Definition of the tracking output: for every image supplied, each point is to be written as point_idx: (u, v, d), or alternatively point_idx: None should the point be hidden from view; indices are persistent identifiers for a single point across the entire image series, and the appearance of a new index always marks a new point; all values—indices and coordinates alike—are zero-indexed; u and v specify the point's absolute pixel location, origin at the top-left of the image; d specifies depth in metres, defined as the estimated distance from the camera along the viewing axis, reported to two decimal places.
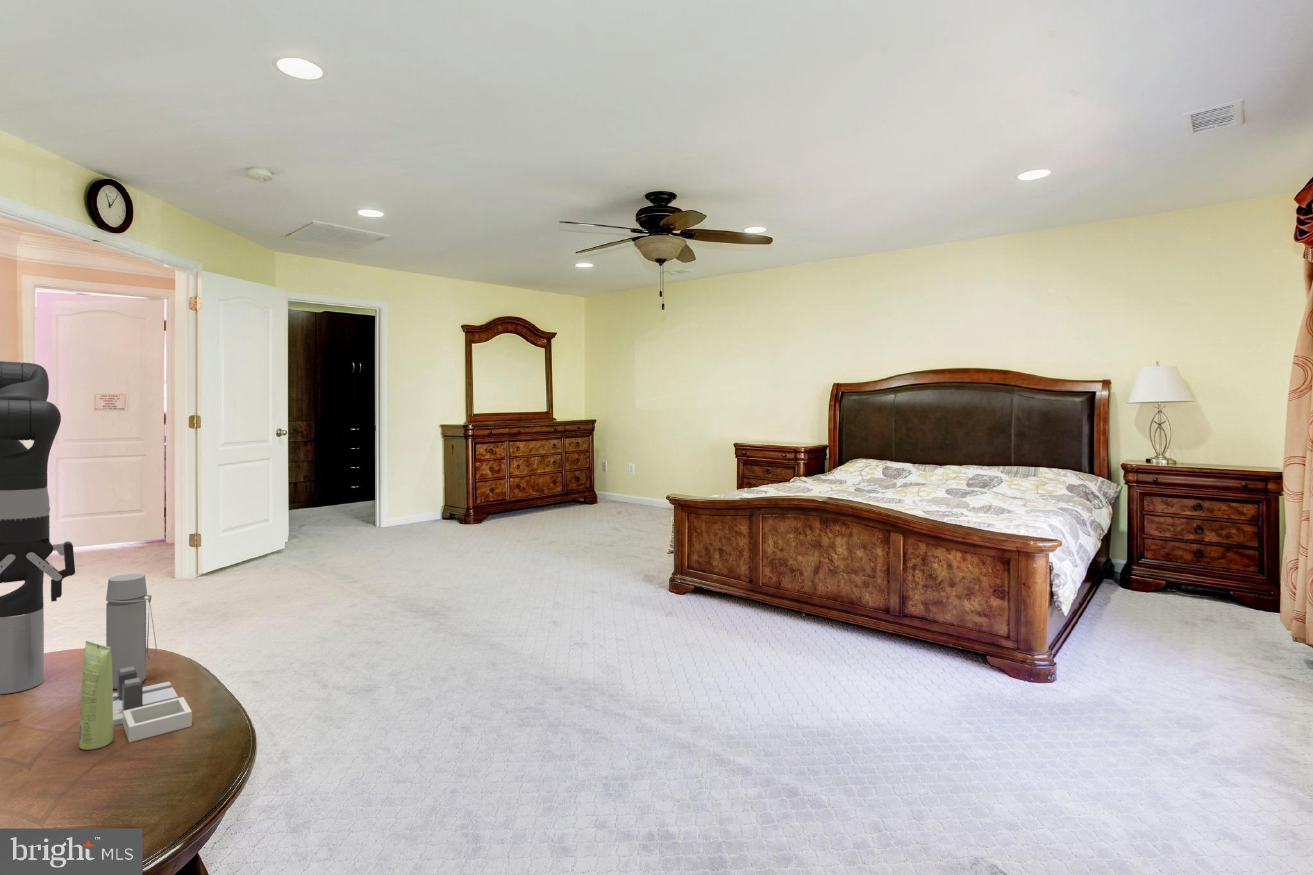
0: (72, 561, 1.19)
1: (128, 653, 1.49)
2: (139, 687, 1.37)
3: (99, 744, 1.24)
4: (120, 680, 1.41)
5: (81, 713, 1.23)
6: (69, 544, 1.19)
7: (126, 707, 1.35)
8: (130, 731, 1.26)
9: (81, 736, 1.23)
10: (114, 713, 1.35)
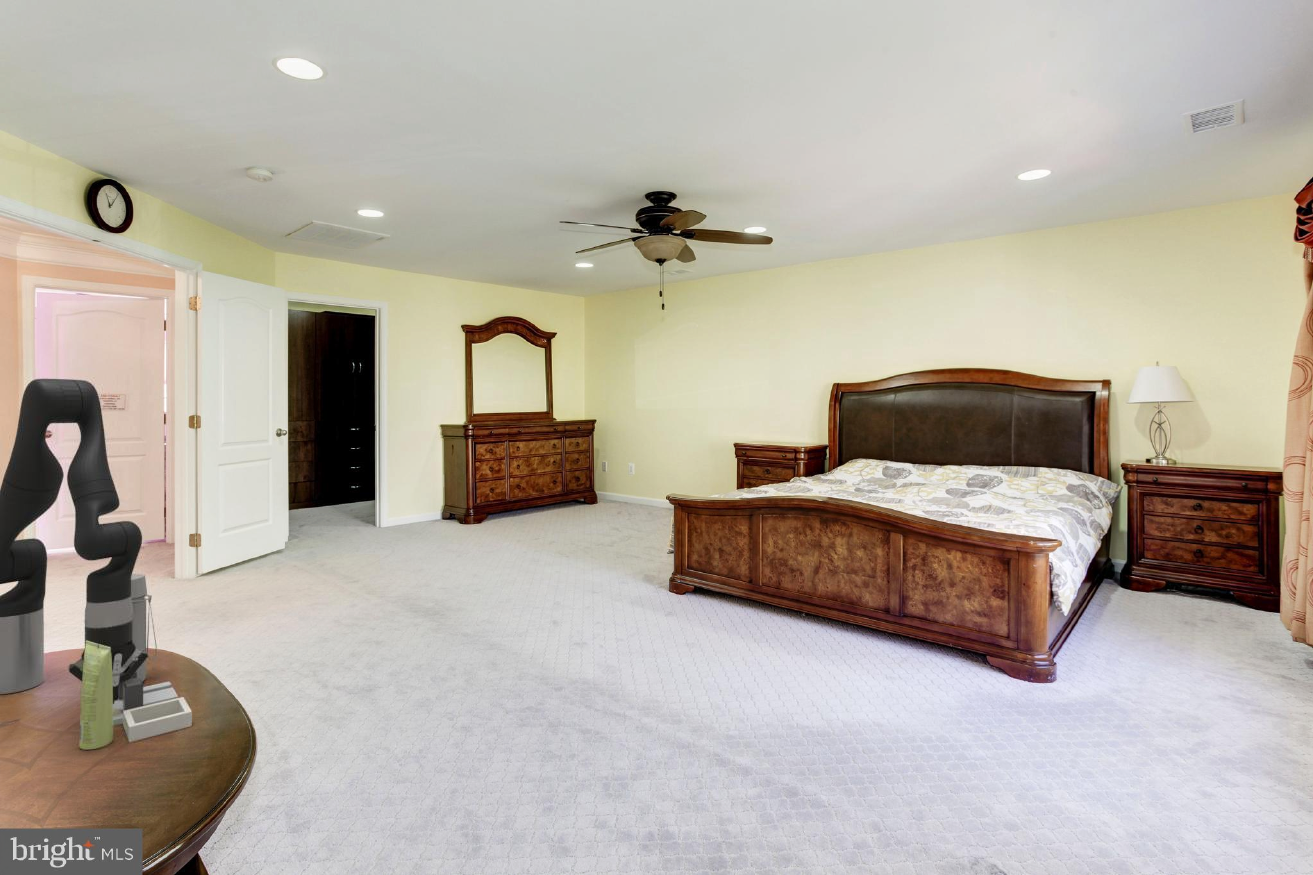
0: (135, 669, 1.36)
1: None
2: (140, 687, 1.37)
3: (99, 744, 1.24)
4: None
5: (81, 713, 1.23)
6: (146, 655, 1.37)
7: (126, 706, 1.35)
8: (130, 731, 1.26)
9: (81, 736, 1.23)
10: (114, 713, 1.35)
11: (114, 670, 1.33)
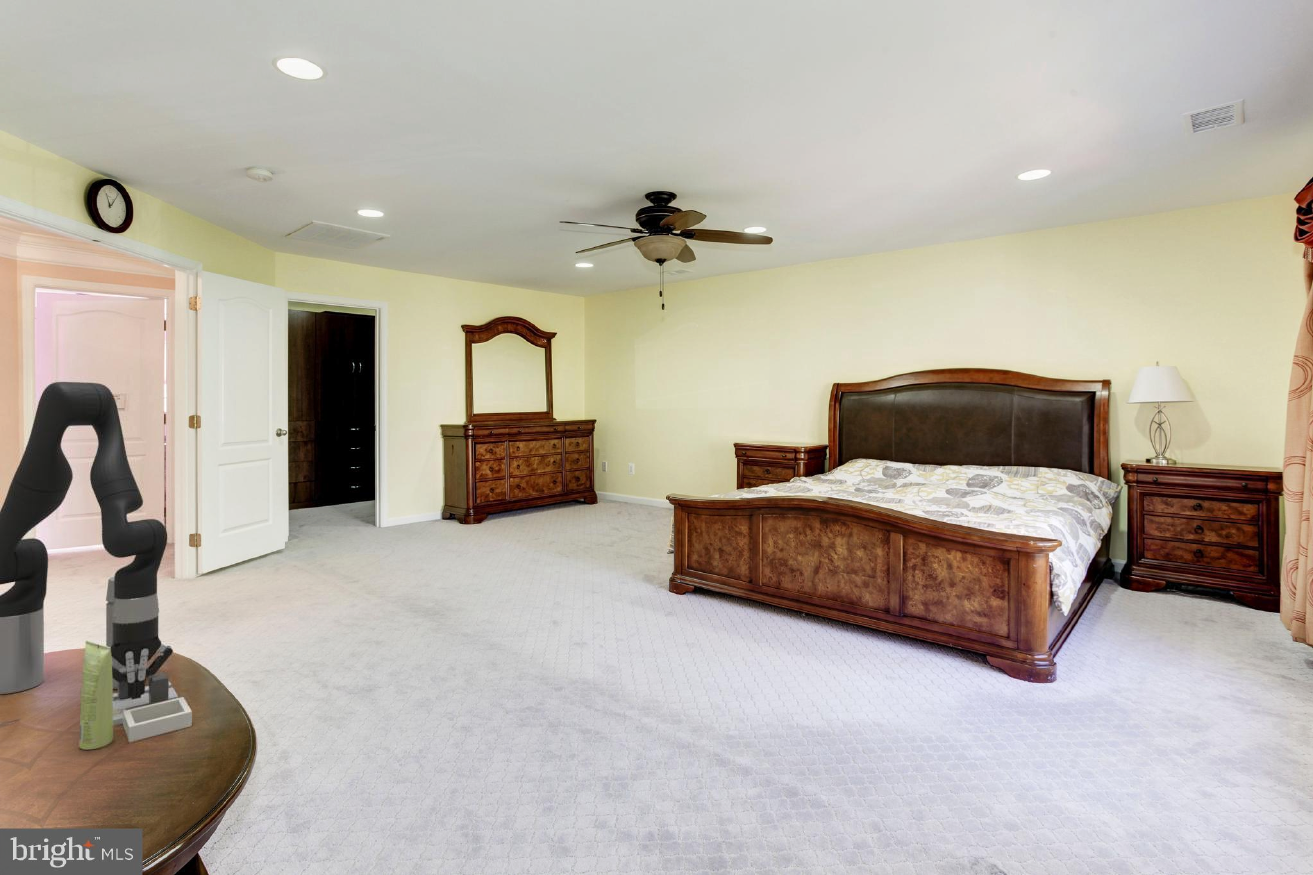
0: (161, 664, 1.39)
1: None
2: (165, 681, 1.40)
3: (99, 744, 1.24)
4: None
5: (81, 713, 1.23)
6: (171, 650, 1.40)
7: (152, 700, 1.38)
8: (130, 731, 1.26)
9: (81, 736, 1.23)
10: (114, 713, 1.35)
11: (141, 665, 1.36)
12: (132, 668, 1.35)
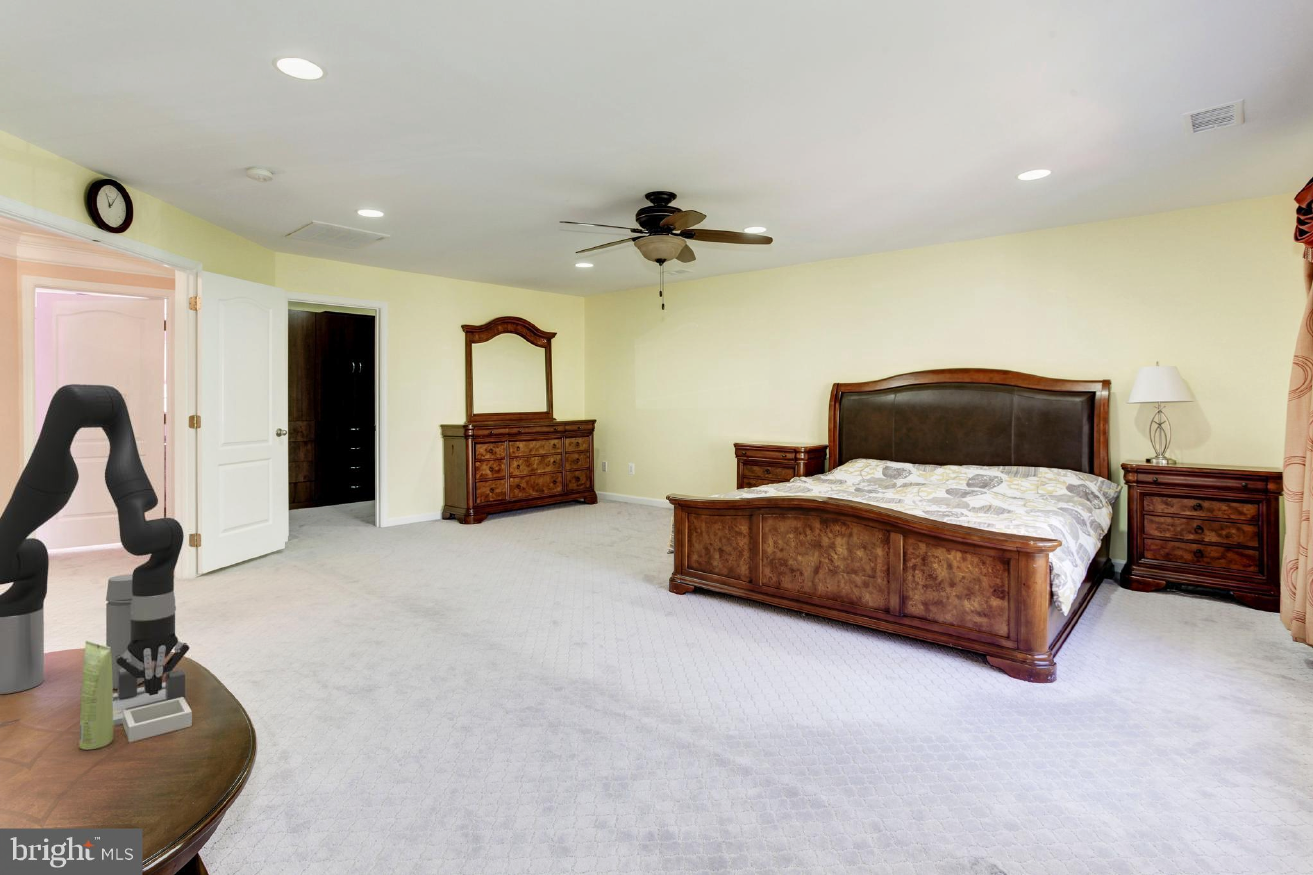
0: (177, 661, 1.41)
1: None
2: (182, 678, 1.42)
3: (99, 744, 1.24)
4: (120, 680, 1.41)
5: (81, 713, 1.23)
6: (188, 647, 1.42)
7: (169, 696, 1.40)
8: (130, 731, 1.26)
9: (81, 736, 1.23)
10: (114, 713, 1.35)
11: (158, 661, 1.38)
12: (150, 664, 1.37)
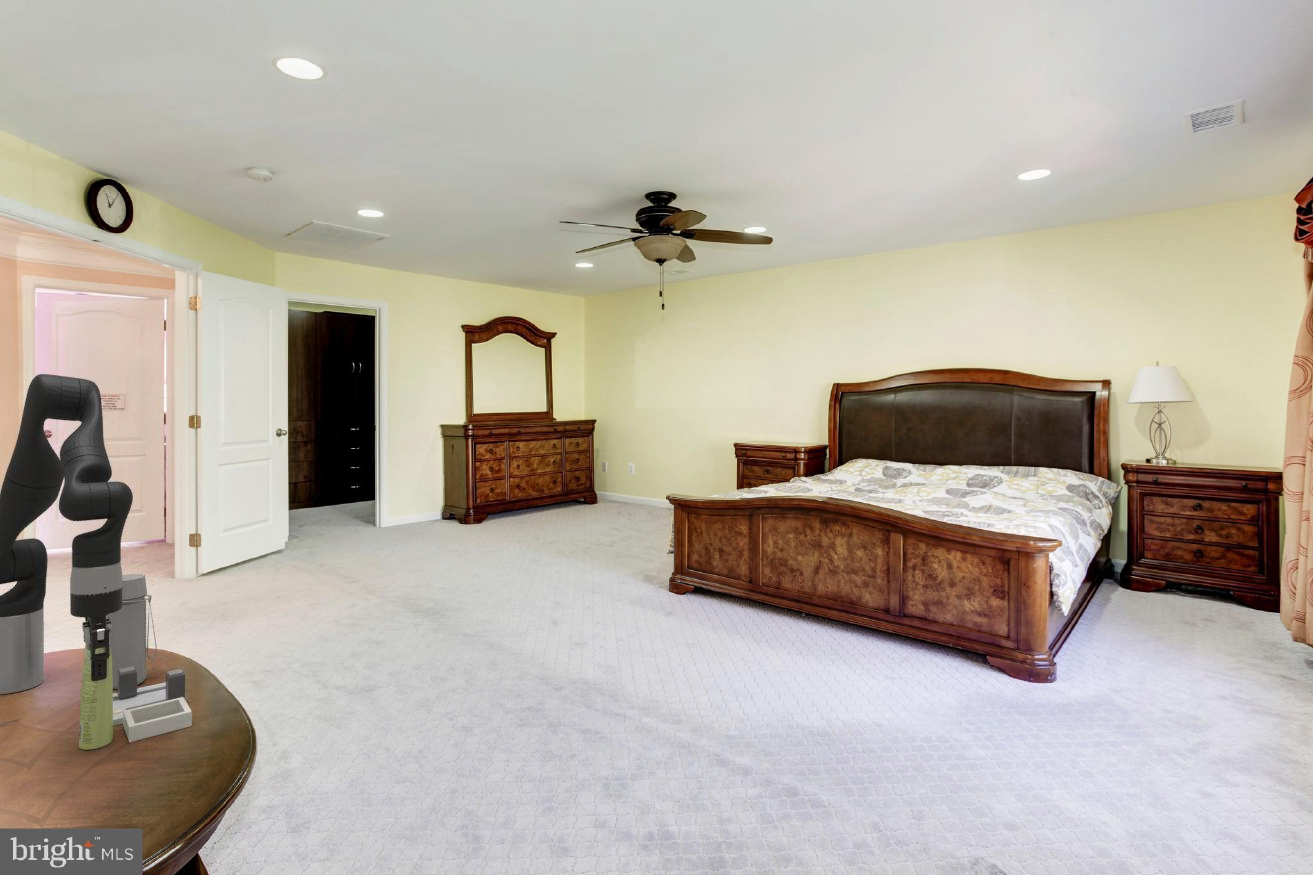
0: (91, 648, 1.19)
1: (128, 653, 1.49)
2: (182, 678, 1.42)
3: (99, 744, 1.24)
4: (120, 680, 1.41)
5: (81, 713, 1.23)
6: (91, 631, 1.19)
7: (169, 696, 1.40)
8: (130, 731, 1.26)
9: (81, 736, 1.23)
10: (114, 713, 1.35)
11: (86, 644, 1.22)
12: None
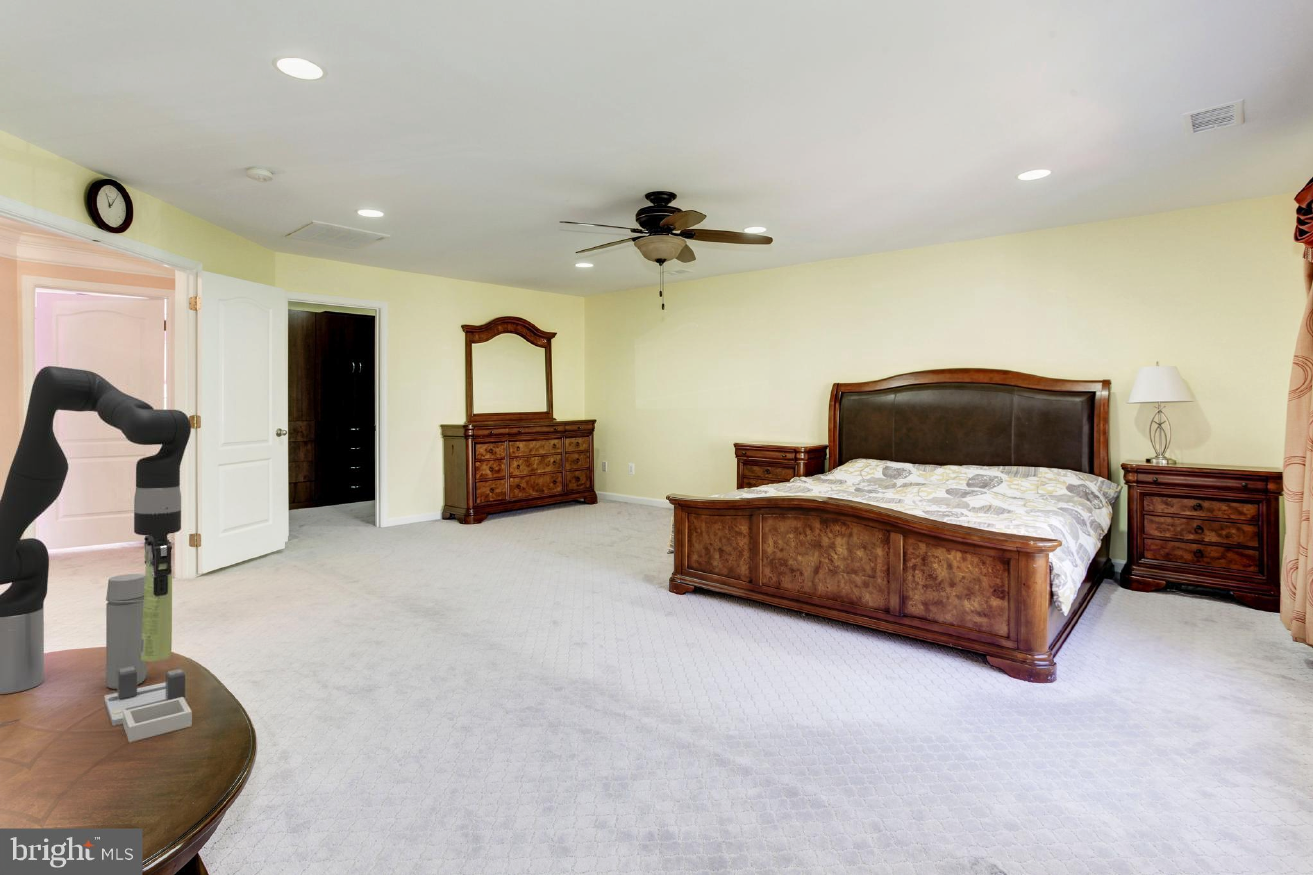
0: (155, 563, 1.26)
1: (129, 653, 1.49)
2: (182, 678, 1.42)
3: (160, 657, 1.31)
4: (120, 680, 1.41)
5: (143, 627, 1.30)
6: (155, 547, 1.26)
7: (169, 696, 1.40)
8: (130, 731, 1.26)
9: (143, 649, 1.30)
10: (114, 713, 1.35)
11: (149, 561, 1.29)
12: (145, 558, 1.32)
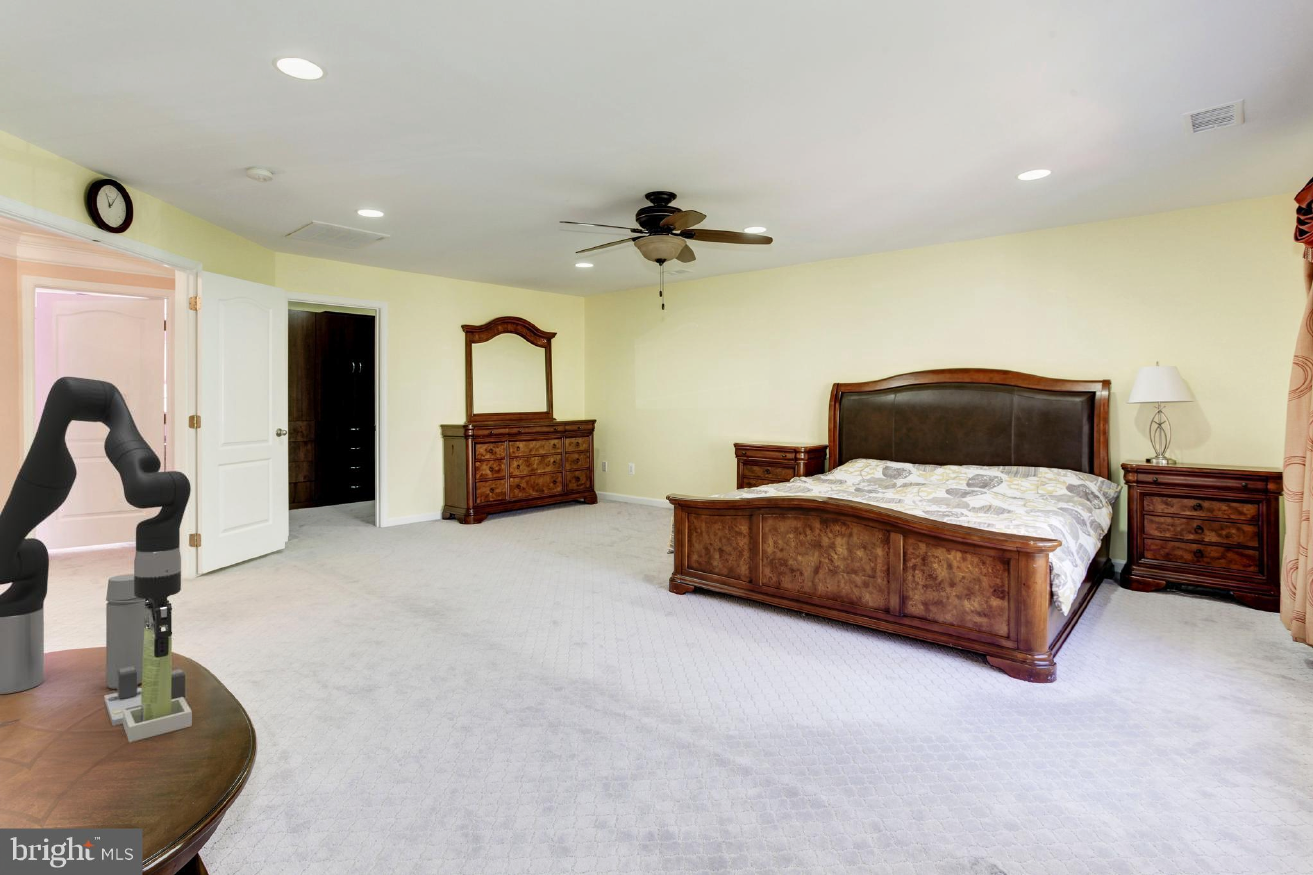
0: (156, 625, 1.26)
1: (128, 653, 1.49)
2: (182, 678, 1.42)
3: None
4: (120, 680, 1.41)
5: (143, 696, 1.31)
6: (155, 609, 1.27)
7: None
8: (130, 731, 1.26)
9: (143, 718, 1.31)
10: (114, 713, 1.35)
11: (149, 623, 1.29)
12: None
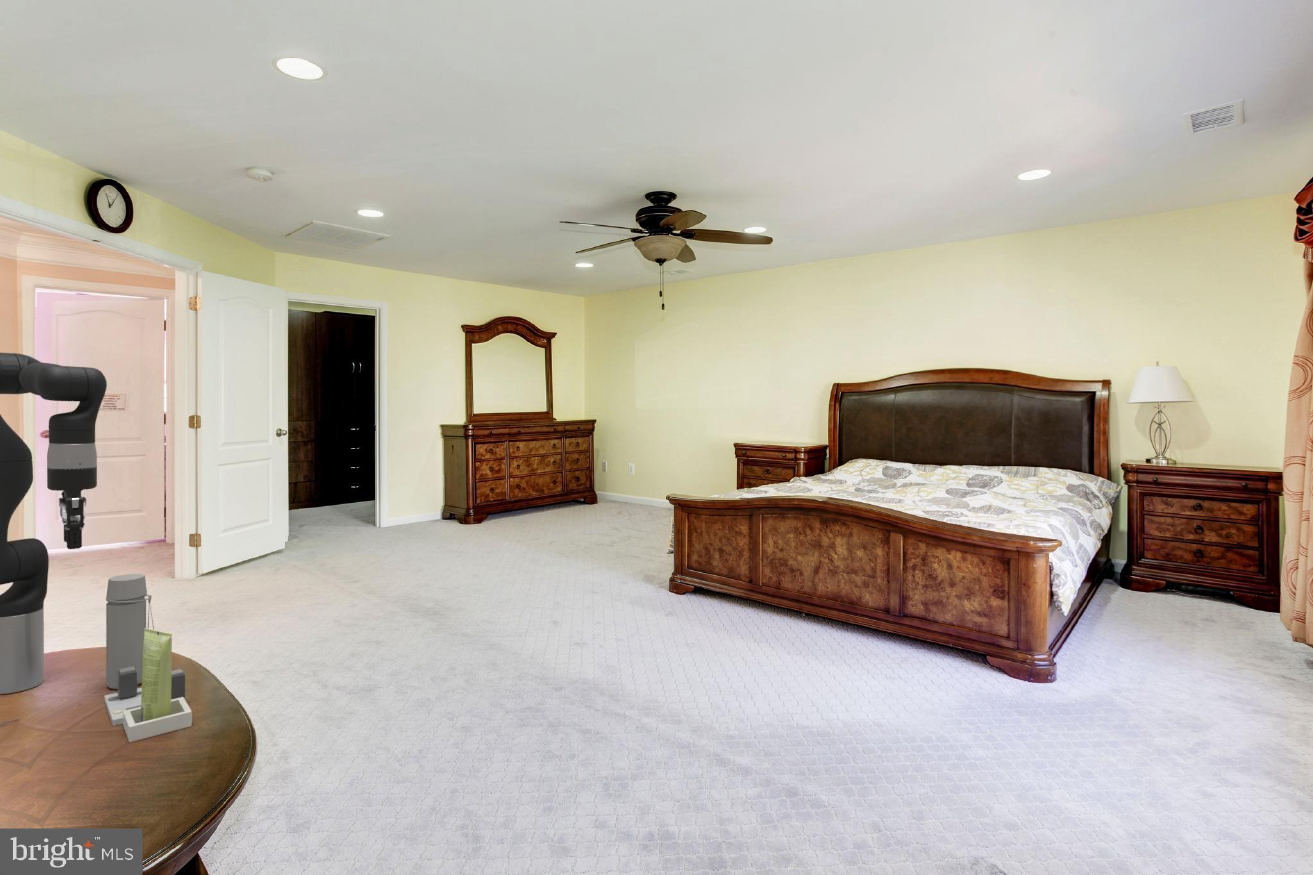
0: (67, 515, 1.27)
1: (128, 653, 1.49)
2: (182, 678, 1.42)
3: None
4: (120, 680, 1.41)
5: (143, 696, 1.31)
6: (66, 499, 1.27)
7: None
8: (130, 731, 1.26)
9: (143, 718, 1.31)
10: (114, 713, 1.35)
11: (62, 516, 1.29)
12: (60, 513, 1.33)
